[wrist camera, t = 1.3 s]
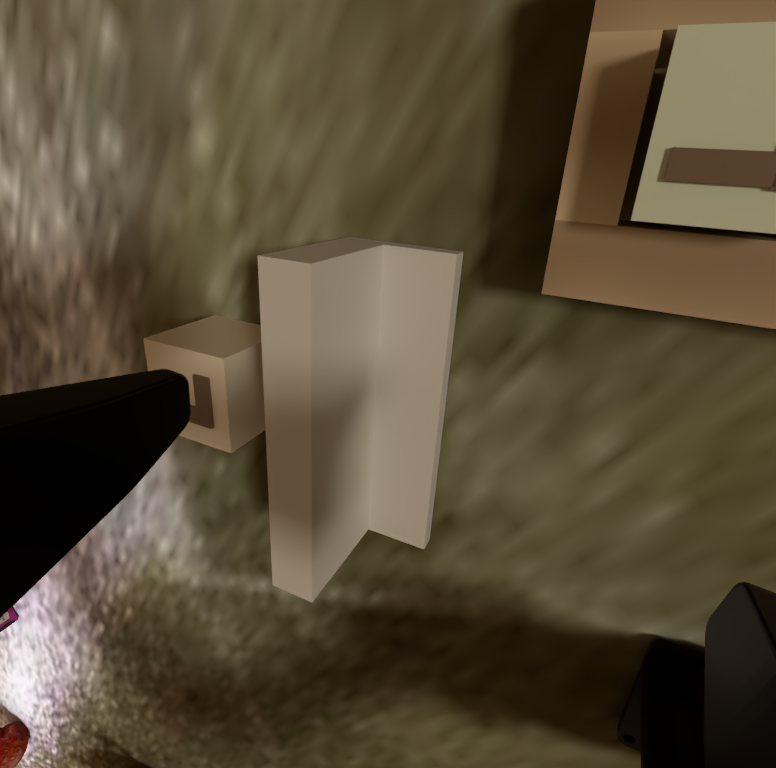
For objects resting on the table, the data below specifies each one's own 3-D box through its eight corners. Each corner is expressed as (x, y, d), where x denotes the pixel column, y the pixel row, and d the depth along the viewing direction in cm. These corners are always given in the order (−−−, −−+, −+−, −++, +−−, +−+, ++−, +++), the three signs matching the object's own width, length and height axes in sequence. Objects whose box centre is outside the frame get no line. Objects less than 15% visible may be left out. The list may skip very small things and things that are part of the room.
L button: (793, 227, 13) (832, 239, 11) (631, 213, 15) (630, 220, 12) (859, 50, 12) (924, 13, 9) (670, 54, 13) (678, 23, 11)
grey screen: (429, 539, 25) (376, 631, 20) (341, 508, 27) (272, 585, 22) (463, 251, 19) (401, 277, 14) (348, 236, 21) (257, 255, 16)
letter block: (290, 413, 26) (228, 455, 22) (222, 393, 28) (153, 429, 24) (288, 330, 24) (220, 360, 20) (215, 314, 26) (140, 339, 22)
